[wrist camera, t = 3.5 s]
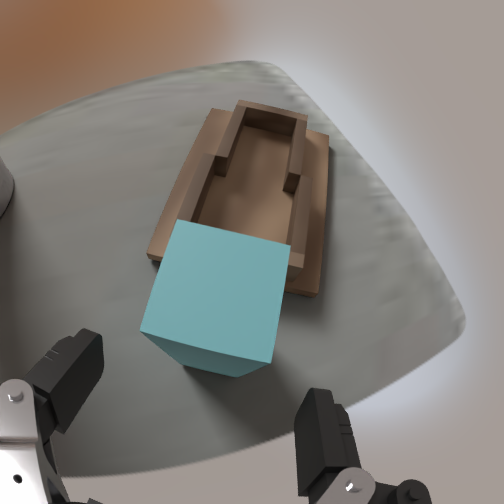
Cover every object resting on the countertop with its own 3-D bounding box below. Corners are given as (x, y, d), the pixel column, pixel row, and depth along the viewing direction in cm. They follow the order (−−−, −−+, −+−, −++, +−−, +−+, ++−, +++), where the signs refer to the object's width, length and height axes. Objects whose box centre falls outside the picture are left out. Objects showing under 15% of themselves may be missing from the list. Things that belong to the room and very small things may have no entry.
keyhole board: (148, 258, 22) (139, 236, 19) (211, 115, 30) (212, 89, 27) (313, 297, 22) (330, 281, 19) (326, 141, 30) (336, 118, 27)
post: (180, 363, 19) (139, 330, 8) (194, 310, 21) (177, 219, 10) (237, 377, 19) (270, 363, 8) (248, 323, 21) (290, 245, 10)
